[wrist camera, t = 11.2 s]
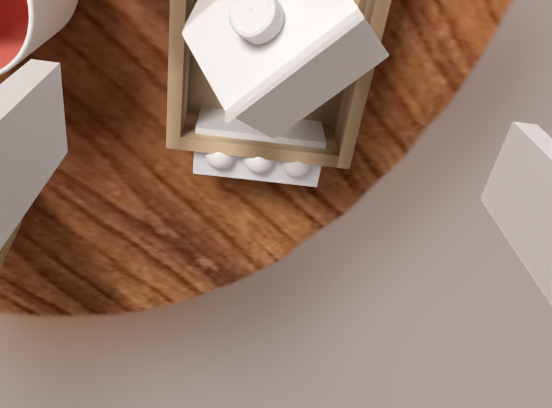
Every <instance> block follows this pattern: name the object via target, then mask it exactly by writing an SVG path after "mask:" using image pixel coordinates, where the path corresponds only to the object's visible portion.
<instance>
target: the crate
mask: <svg viewBox="0 0 552 408" xmlns="http://www.w3.org/2000/svg"><path fill="white" fill-rule="evenodd" d="M197 1H198V0H170V19H169V57H168V94H167V131H166V148H170V149H179V150H187V151H196V152H205V153H213V154H214V153H217V152H221V153H223V154H225V155H231V156H239V157H248V158H255V157H262V158H264V159H265V160H274V161H283V162H291V163H293V162H296V161H299V162H302V163H303V164H309V165H317V166H326V167H335V168H343V169H350V165H351V161H352V157H353V153H354V149H355V145H356V141H357V137H358V132H359V128H360V124H361V120H362V116H363V112H364V108H365V104H366V100H367V96H368V92H369V88H370V84H371V80H372V76H373V72H374V68H375V67H374V68H372V69H371V70H369V71H368V72H367V73H365V74H364V75H363V76H361V77H360V78H358V79H357V80H356V81H354V82H353V83H351V84H350V85H349V86H347V87H346V88H344V89H343V90H342V91H340V92H339V93H338V94H336V95H335V96H333V97H332V98H331V99H329V100H328V101H326V102H325V103H324V104H322V105H321V106H319V107H318V108H317V109H315V110H314V111H313V112H311V113H310V114H308V115H307V116H306V117H304V118H303V119H305V120H313V121H321V122H322V126H323V131H324V135H325V139H326V147H325V149H323V148H315V147H306V146H298V145H289V144H281V143H272V142H264V141H256V140H247V139H239V138H230V137H222V136H213V135H205V134H197V133H195V129H196V124H197V120H198V116H199V113H200V109H201V107H207V108H216V109H224V108H223V107H222V105H221V103H220V101H219V100H218V98H217V96H216V94H215V93H214V91H213V89H212V87H211V85H210V84H209V82H208V80H207V78H206V77H205V75H204V73H203V71H202V70H201V68H200V66H199V64H198V62H197V61H196V59H195V57H194V55H193V54H192V52H191V50H190V48H189V46H188V45H187V43H186V41H185V39H184V38H183V36H182V31H183V28H184V26H185V24H186V22H187V20H188V18H189V16H190V14H191V12H192V10H193V8H194V6H195V4H196V2H197ZM353 1H354V2H355V4H356V5H357V7H358V8H359V10H360V11H361V13H362V14H363V16H364V17H365V19H366V20H367V22H368V23H369V25H370V26H371V28H372V30H373V31H374V33H375V34H376V36H377V37H378V39H379V40H380V42H381V40H382V36H383V32H384V28H385V24H386V20H387V16H388V12H389V8H390V4H391V0H353Z"/></svg>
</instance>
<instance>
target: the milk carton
mask: <svg viewBox="0 0 552 408" xmlns="http://www.w3.org/2000/svg"><path fill="white" fill-rule="evenodd" d="M182 36H183V38H184V39H185V41H186V43H187V45H188V46H189V48H190V50H191V52H192V54H193V55H194V57H195V59H196V61H197V62H198V64H199V66H200V68H201V70H202V71H203V73H204V75H205V77H206V78H207V80H208V82H209V84H210V85H211V87H212V89H213V91H214V93H215V94H216V96H217V98H218V100H219V101H220V103H221V105H222V107H223V108H224V110H225V117H224V121H225V122H226V123H229V122H230V121H231V120H233V119H234V118H236V119H238V120H240V121H241V122H243V123H245V124H247V125H249V126H251V127H252V128H254V129H256V130H258V131H260V132H262V133H263V134H265V135H267V136H269V137H271V138H273V139H274V138H276V137H278V136H279V135H280V134H282V133H283V132H285V131H286V130H288V129H289V128H290V127H292V126H293V125H294V124H296V123H297V122H299V121H300V120H301V119H303V118H304V117H306V116H307V115H308V114H310V113H311V112H313V111H314V110H315V109H317V108H318V107H319V106H321V105H322V104H324V103H325V102H326V101H328V100H329V99H331V98H332V97H333V96H335V95H336V94H338V93H339V92H340V91H342V90H343V89H344V88H346V87H347V86H349V85H350V84H351V83H353V82H354V81H356V80H357V79H358V78H360V77H361V76H363V75H364V74H365V73H367V72H368V71H369V70H371V69H372V68H374V67H375V66H376V65H378V64H379V63H380V62H382V61H383V60H385V59H386V58H387V57H388V56H389V54H388V52H387V51H386V49H385V48H384V46H383V45H382V43H381V42H380V40H379V39H378V37H377V36H376V34H375V33H374V31H373V30H372V28H371V26H370V25H369V23H368V22H367V20H366V19H365V17H364V16H363V14H362V13H361V11H360V10H359V8H358V7H357V5H356V4H355V2H354V1H353V0H198V1H197V2H196V4H195V6H194V8H193V10H192V12H191V14H190V16H189V18H188V20H187V22H186V24H185V26H184V28H183V31H182Z"/></svg>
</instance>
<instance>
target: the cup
mask: <svg viewBox="0 0 552 408" xmlns="http://www.w3.org/2000/svg"><path fill="white" fill-rule="evenodd" d="M77 4H78V0H0V75H2V74H4V73H6V72H7V71H9V70H10V69H12V68H13V67H14V66H16V65H17V64H18V63H19V62H21V61H22V60H23V59H24V58H26V57H27V56H28V55H30V54H31V53H32V52H33V51H35V50H36V49H37V48H38V47H40V46H41V45H42V44H43V43H45V42H46V41H47V40H49V39H50V38H51V37H52V36H54V35H55V34H56V33H57V32H59V31H60V30H61V29H62V28H63V27H64V26H65V25H66V24H67V23H68V21H69V20H70V19H71V17H72V15H73V13H74V11H75V9H76V6H77Z"/></svg>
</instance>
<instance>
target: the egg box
mask: <svg viewBox="0 0 552 408" xmlns="http://www.w3.org/2000/svg"><path fill="white" fill-rule="evenodd" d="M224 117H225V110H224V109H216V108H207V107H201V109H200V113H199V116H198V120H197V124H196V129H195V133H197V134H205V135H213V136H222V137H230V138H239V139H247V140H256V141H264V142H272V143H281V144H289V145H298V146H306V147H315V148H323V149H325V147H326V139H325V135H324V131H323V126H322V122H321V121H313V120H305V119H301V120H300V121H299V122H297V123H296V124H294V125H293V126H292V127H290V128H289V129H288V130H286V131H285V132H283V133H282V134H280V135H279V136H278V137H276V138H274V139H273V138H271V137H269V136H267V135H265V134H263V133H262V132H260V131H258V130H256V129H254V128H252V127H251V126H249V125H247V124H245V123H243V122H241V121H240V120H238V119H236V118H234V119H233V120H231V121H230V122H229V123H226V122H225V121H224ZM320 170H321V166H317V165H309V164H303V163H302V162H299V161H296V162H293V163H291V162H283V161H274V160H265V159H264V158H262V157H255V158H248V157H239V156H231V155H225V154H223V153H221V152H217V153H214V154H213V153H205V152H196V151H194V162H193V173H194V174H203V175H212V176H221V177H230V178H239V179H248V180H257V181H266V182H275V183H284V184H293V185H302V186H311V187H317V184H318V179H319V175H320Z"/></svg>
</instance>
